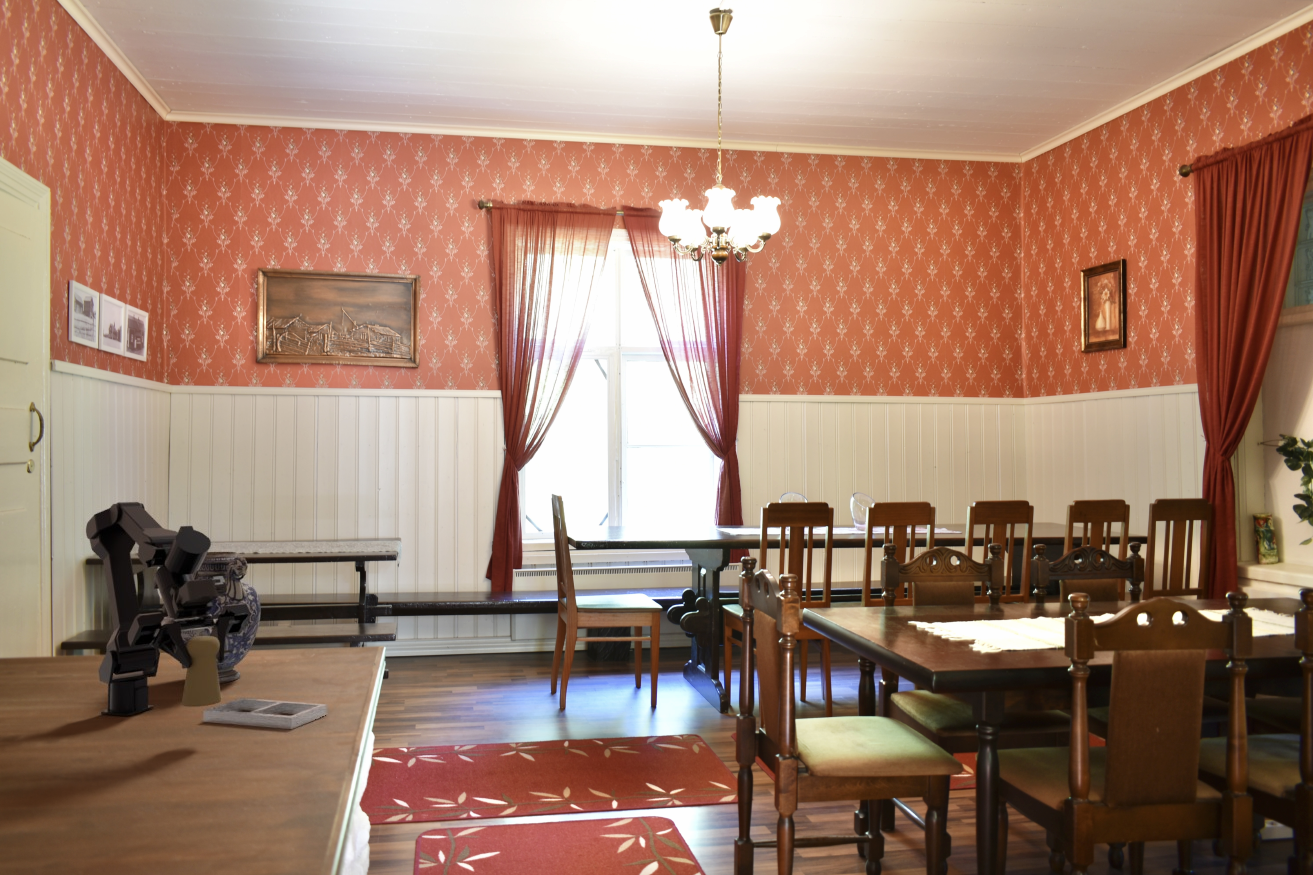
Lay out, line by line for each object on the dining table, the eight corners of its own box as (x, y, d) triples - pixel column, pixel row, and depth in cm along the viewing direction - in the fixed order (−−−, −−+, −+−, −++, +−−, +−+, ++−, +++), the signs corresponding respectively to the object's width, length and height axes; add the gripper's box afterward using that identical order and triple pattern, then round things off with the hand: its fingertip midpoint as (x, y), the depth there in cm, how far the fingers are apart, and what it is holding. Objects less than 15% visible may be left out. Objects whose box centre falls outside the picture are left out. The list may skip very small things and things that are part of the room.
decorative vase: (144, 681, 203) (149, 552, 204) (222, 667, 218) (226, 548, 220) (202, 693, 191) (206, 557, 193) (280, 678, 207) (284, 552, 209)
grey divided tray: (203, 721, 169) (203, 710, 169) (242, 708, 179) (242, 697, 179) (291, 729, 164) (291, 717, 164) (326, 714, 173) (326, 704, 174)
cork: (205, 707, 153) (207, 640, 153) (173, 705, 154) (174, 638, 154) (229, 698, 159) (230, 633, 159) (197, 696, 160) (198, 632, 160)
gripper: (136, 565, 153) (162, 641, 145) (247, 557, 167) (276, 626, 159) (116, 609, 157) (141, 684, 150) (226, 597, 172) (254, 666, 164)
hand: (206, 663), depth 156 cm, fingers closed on cork, 5 cm apart
